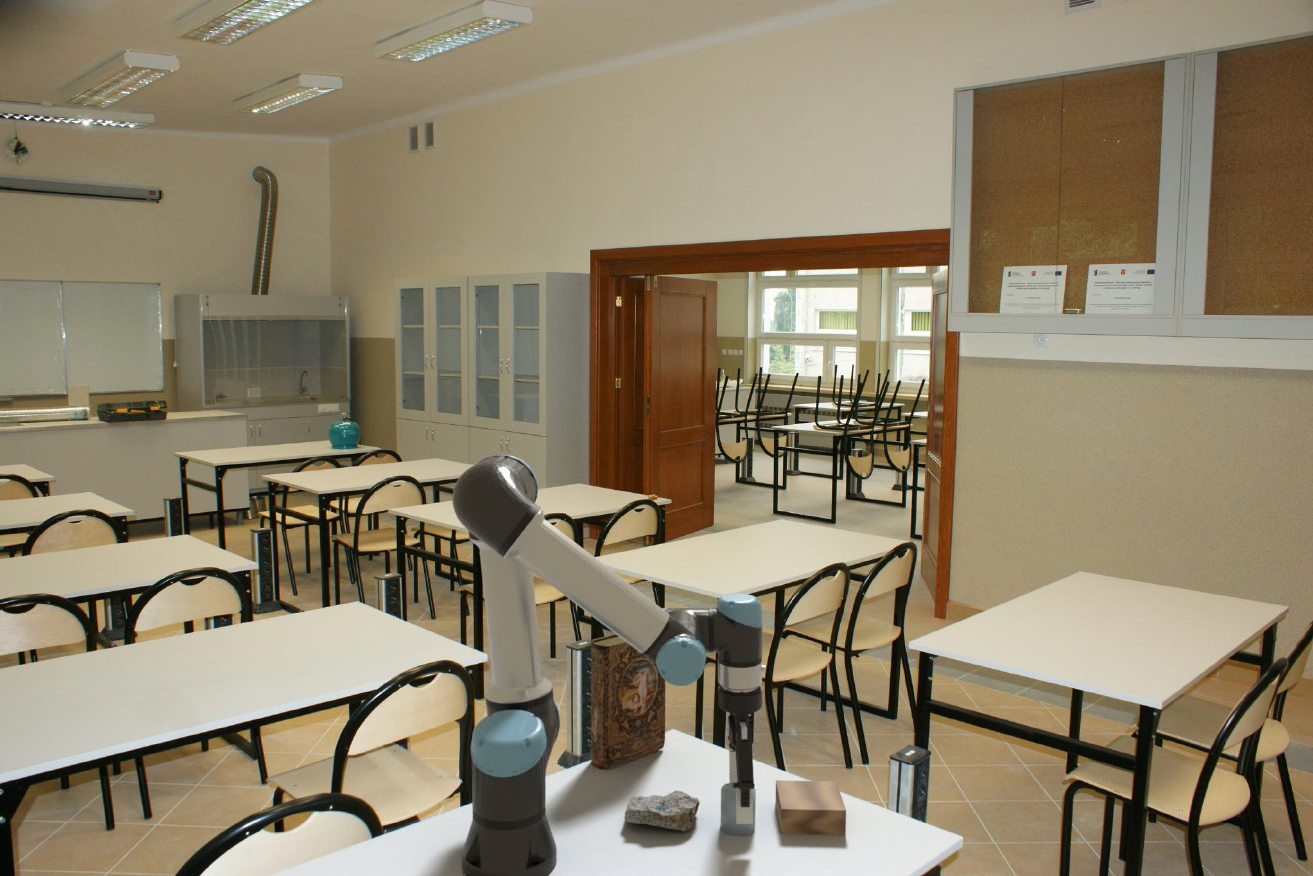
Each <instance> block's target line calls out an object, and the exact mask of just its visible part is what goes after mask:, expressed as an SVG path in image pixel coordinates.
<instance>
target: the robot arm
mask: <svg viewBox="0 0 1313 876" xmlns="http://www.w3.org/2000/svg"><path fill="white" fill-rule="evenodd" d="M452 491H453V492H452V498H451V499H452V506H453V511H454V513H455V516H456V517H457V520H458V521H459V522H460V523H461V525H462V526H463V527H464V528H465V529H466V530H468V531H467V532H468V539H469V541H471V542H472V543H473V544H474V545H476V546H477V547H478V549H479V558H480V565H481V566H480V568H481V576H482V586H483V597H484V607H485V616H486V625H487V636H488V638H487V639H488V646H489V656H490V666H491V676H492V683H491V685H490V686H489V687H488V688H487V689H486V690H485V693H484V694H485V695H484V697H485V706H486V716H485V717H483V718H482V719H481V720H480V721H478V723H477V724H476V725H475V727H474V728H473V731H472V734H471V735H472V736H471V737H472V738H471V743H470V756H471V781H472V782H471V795H472V796H471V797H472V799H471V800H472V804H471V805H472V820H471V823H470V827H469V829H468V833H467V835H466V836H467V837H466V840H465V842H464V845H463V849H462V853H461V869H462V870H463V871H462V873H463V875H464V874H465V875H464V876H549V875H550V874H551V873H552V872H553V871H554V869H555V867H556V865H557V863H558V862H557V855H558V854H557V853H558V851H557V850H558V849H557V844H556V841H555V838H554V835H553V832H552V829H551V826H550V824H549V820H548V818H547V814H546V808H547V807H546V803H547V802H546V799H547V798H546V795H547V794H546V789H547V788H546V785H547V784H546V775H547V773H546V772H547V767H548V764H549V761H550V757H551V754H552V752H553V749H554V745H555V743H556V742H557V739H558V736H559V733H560V728H561V717H560V711H559V707H558V705H557V703H556V701H555V699H554V689H553V682H552V681H550V680H549V679H547V677H545V676H543V667H542V656H541V645H540V644H541V643H540V635H539V625H538V624H539V623H538V614H537V613H538V612H537V604H536V603H537V602H536V594H535V584H534V574H536V575H537V576H538V577H540V579H543V581H545V582H546V583H547V584H549V585H550V586H552V587H553V588H554V589H555V590H557V591H558V592H559V593H561V595H564V596H565V597H566V598H568V599H569V600H570V601H572V603H574V604H576V605H577V606H578V607H579V608H581V609H582V610H583V611H585V612H586V613H587V614H589V615H590V616H591V617H593V618H594V619H595V620H596V621H597V622H599V623H600V624H602V625H603V626H604V627H606V628H607V629H609V630H610V631H611V632H613V633H614V634H616V635H618V636H619V637H620V638H622V639H623V640H624V641H626V642H627V643H628V644H630V645H631V646H632V647H634V648H635V649H636V650H638V651H639V652H640V653H642V654H643V655H644V656H645V657H647V658H648V659H649V660H650V661H652V662H653V663H654V664H656V665H657V669H658V671H659V673H660V675H661V676H662V678H663V679H664V680H665V682H667V683H668V684H670V685H672V686H675V687H676V686H677V687H685V686H686V687H687V686H689V685H691V684H693V683H695V682H696V681H698V680H699V679H700V678H701V676H702V675H703V673H704V670H705V665H706V661H707V654H708V653H710V654H711V653H712V654H713V653H717V654H718V656H717V682H718V683H717V684H719V686H718V687H717V688H718V689H717V690H718V699H717V700H718V701H717V703H718V707H719V708H720V709H721V710H722V711H723V712H725V713H728V715H727V720H728V721H727V722H728V723H727V724H728V736H727V740H728V742H729V743H728V747H729V751H728V752H729V753H728V754H729V756H728V757H729V759H728V760H729V762H728V763H729V765H728V766H729V767H728V768H729V769H728V770H729V773H728V775H729V782H728V783H732V782H737V783H733V788H736V823H737V824H753V789H754V788H755V778H754V761H753V760H754V759H753V756H754V755H753V741H754V739H753V729H754V722H753V720H752V714H753V713H756V712H758V711H760V710H761V709H762V706H763V687H762V686H761V685H762V683H763V675H762V674H763V673H762V672H766V665H763V663H762V661H763V614H762V603H761V601H760V599H759V598H758V597H756V596H755V595H751V594H747V593H731V594H724V595H722V596H720V597H719V598H718V599H717V605H716V607H706V608H705V607H699V608H698V607H671V606H669V607H668V606H667V607H661V606H659V605H657V604H656V603H655V602H654V601H653V600H651V598H649V597H648V596H646V595H644V593H642V592H640V590H638V589H637V588H636V587H634V586H633V585H631V584H630V583H629V582H628V581H627V580H625V579H624V578H623V577H621V576H620V575H619V574H617V573H616V572H614V571H613V570H612V569H611V568H609V567H608V566H607V565H605V564H604V563H603V562H602V561H601V560H599V559H598V558H596V557H595V556H593V554H591V553H590V552H589V551H587V550H586V549H584V548H583V547H582V546H580V545H579V544H578V543H577V542H575V541H574V540H573V539H572V538H570V537H568V536H567V535H566V534H565V533H564V532H562V531H561V530H559V528H557V527H555V525H553V524H552V523H550V522H549V521H548V520H547V519H546V518H545V516H544V510H543V509H542V508H541V506H539V505H538V504H536V502H537V499H538V492H539V484H538V479H537V476H536V475H535V472H534V471H533V469H532V468H531V466H530V465H528V463H526V461H524V460H523V459H521V458H518V457H516V456H514V455H509V454H495V455H489V456H486V457H484V458H482V459H480V461H479V462H477V463H476V464H474V465H472V466H471V467H469V468H467V469H466V470H465V471H463V473H461V474H460V476H459V477H458V479H457V481H456V482H455V485H454V488H453V490H452Z"/></svg>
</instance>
